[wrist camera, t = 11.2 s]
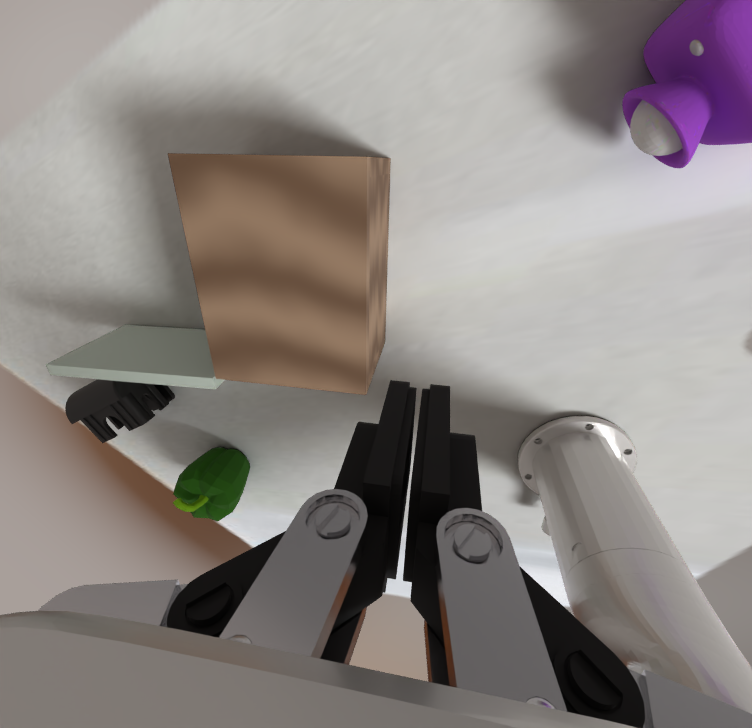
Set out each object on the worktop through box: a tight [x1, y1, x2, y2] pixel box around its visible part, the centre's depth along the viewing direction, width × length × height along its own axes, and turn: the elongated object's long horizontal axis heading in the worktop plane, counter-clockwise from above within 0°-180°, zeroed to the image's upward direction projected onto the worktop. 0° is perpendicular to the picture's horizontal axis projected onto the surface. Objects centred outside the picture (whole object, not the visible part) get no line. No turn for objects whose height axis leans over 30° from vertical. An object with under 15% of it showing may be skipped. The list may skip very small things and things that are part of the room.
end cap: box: [66, 379, 175, 443], centre depth 49 cm, size 10×7×7 cm
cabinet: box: [168, 153, 391, 395], centre depth 34 cm, size 18×14×11 cm
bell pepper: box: [173, 447, 250, 521], centre depth 51 cm, size 8×8×10 cm
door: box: [46, 325, 225, 389], centre depth 41 cm, size 18×2×11 cm, turn 91°
